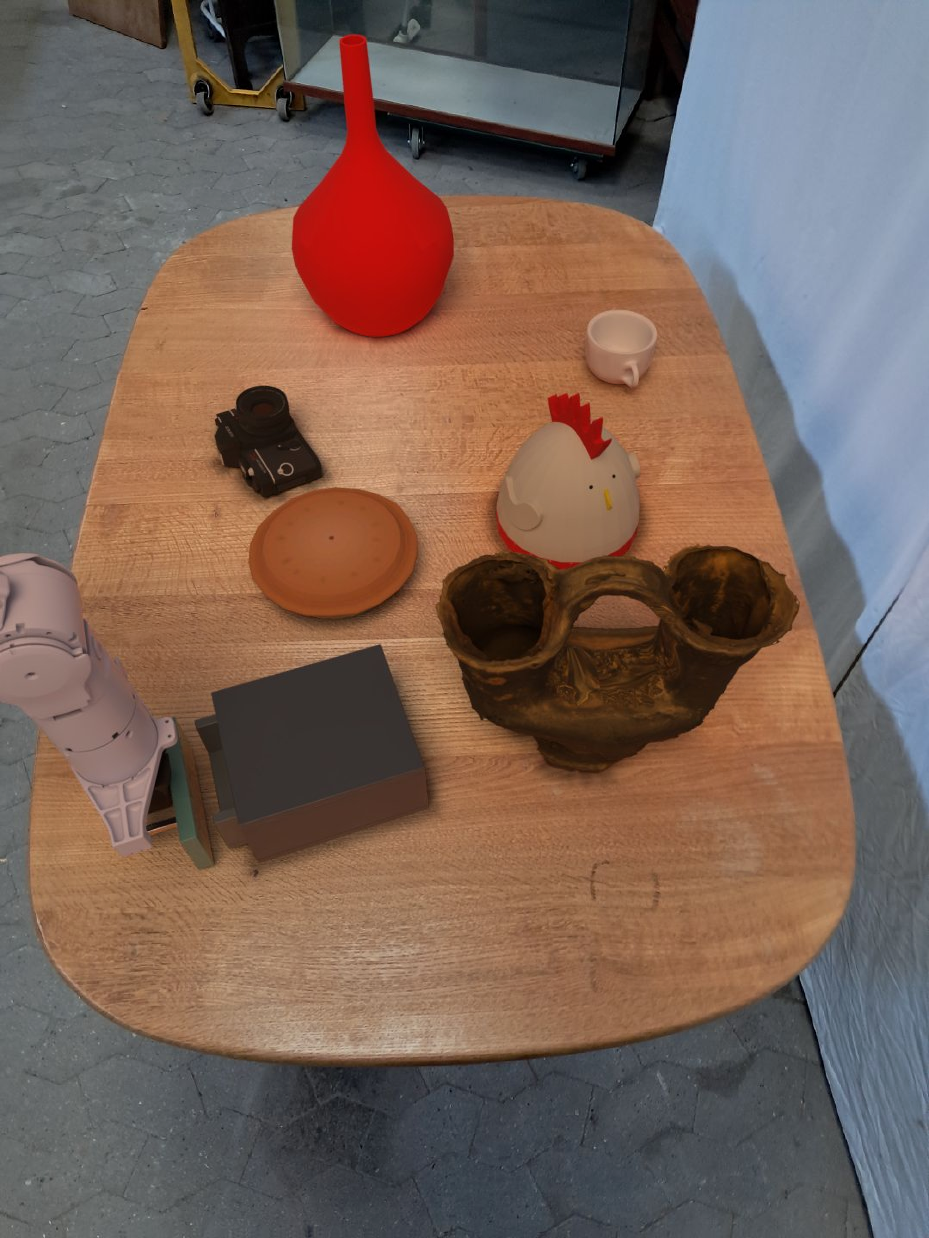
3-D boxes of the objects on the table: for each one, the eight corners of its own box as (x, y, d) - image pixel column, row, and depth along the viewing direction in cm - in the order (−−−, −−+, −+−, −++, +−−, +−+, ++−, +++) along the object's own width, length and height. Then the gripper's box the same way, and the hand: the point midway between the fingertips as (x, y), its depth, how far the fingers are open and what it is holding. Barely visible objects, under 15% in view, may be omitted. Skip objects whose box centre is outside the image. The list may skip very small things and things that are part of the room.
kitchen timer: (548, 595, 84) (560, 479, 72) (469, 504, 91) (468, 384, 79) (666, 535, 88) (695, 415, 76) (582, 452, 95) (597, 331, 83)
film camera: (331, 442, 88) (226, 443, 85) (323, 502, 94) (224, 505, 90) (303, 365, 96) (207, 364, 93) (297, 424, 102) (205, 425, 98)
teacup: (574, 354, 105) (578, 314, 100) (638, 346, 106) (644, 305, 101) (598, 411, 99) (603, 371, 95) (665, 401, 100) (674, 361, 95)
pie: (232, 548, 88) (220, 512, 84) (378, 492, 92) (373, 456, 88) (291, 665, 80) (281, 632, 76) (448, 598, 84) (446, 563, 80)
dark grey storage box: (258, 864, 69) (238, 825, 63) (230, 737, 75) (210, 692, 70) (428, 809, 71) (424, 767, 66) (387, 690, 78) (380, 643, 72)
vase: (315, 268, 116) (273, 1, 92) (458, 270, 115) (453, 2, 91) (293, 359, 105) (238, 83, 81) (451, 361, 104) (443, 85, 80)
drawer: (140, 889, 67) (117, 862, 63) (124, 769, 73) (102, 737, 69) (360, 818, 70) (352, 788, 66) (327, 709, 76) (318, 674, 72)
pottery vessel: (726, 661, 79) (789, 504, 63) (754, 774, 73) (832, 630, 57) (441, 671, 79) (432, 515, 63) (443, 784, 73) (433, 643, 57)
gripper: (169, 791, 54) (227, 872, 65) (139, 608, 62) (195, 708, 73) (49, 829, 53) (128, 906, 64) (34, 638, 61) (107, 735, 72)
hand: (158, 802), depth 68 cm, fingers closed, pressing on drawer
